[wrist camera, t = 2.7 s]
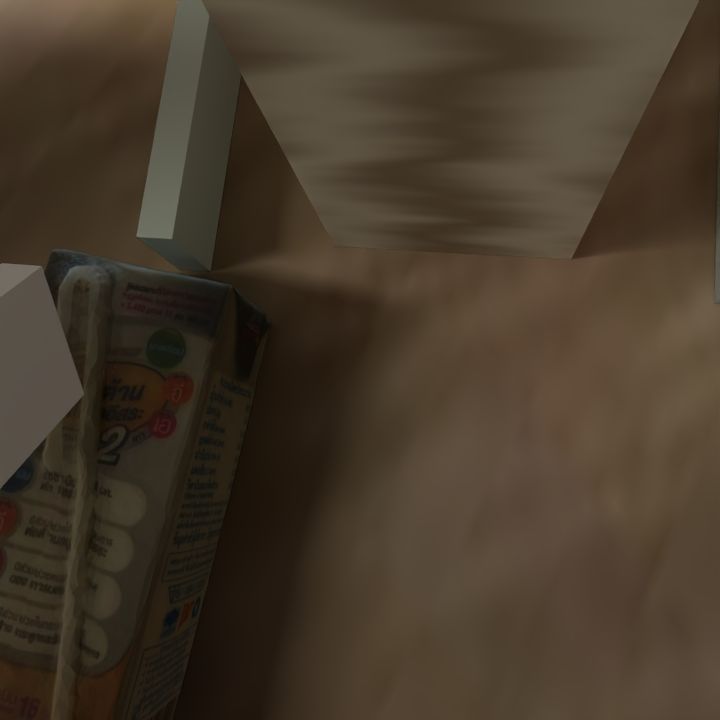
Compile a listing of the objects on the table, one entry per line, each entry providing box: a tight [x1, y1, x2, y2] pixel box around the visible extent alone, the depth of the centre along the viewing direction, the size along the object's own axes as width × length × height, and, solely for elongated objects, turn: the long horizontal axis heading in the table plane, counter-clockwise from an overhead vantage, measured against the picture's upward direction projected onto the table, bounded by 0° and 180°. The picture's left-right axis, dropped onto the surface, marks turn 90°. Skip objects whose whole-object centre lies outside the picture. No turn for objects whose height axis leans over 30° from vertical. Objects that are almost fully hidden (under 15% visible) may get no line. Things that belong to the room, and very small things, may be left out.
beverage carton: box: [0, 249, 271, 720], centre depth 25 cm, size 8×19×7 cm, turn 167°
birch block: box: [201, 0, 699, 259], centre depth 20 cm, size 10×3×16 cm, turn 83°
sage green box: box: [136, 0, 720, 304], centre depth 24 cm, size 24×18×10 cm
